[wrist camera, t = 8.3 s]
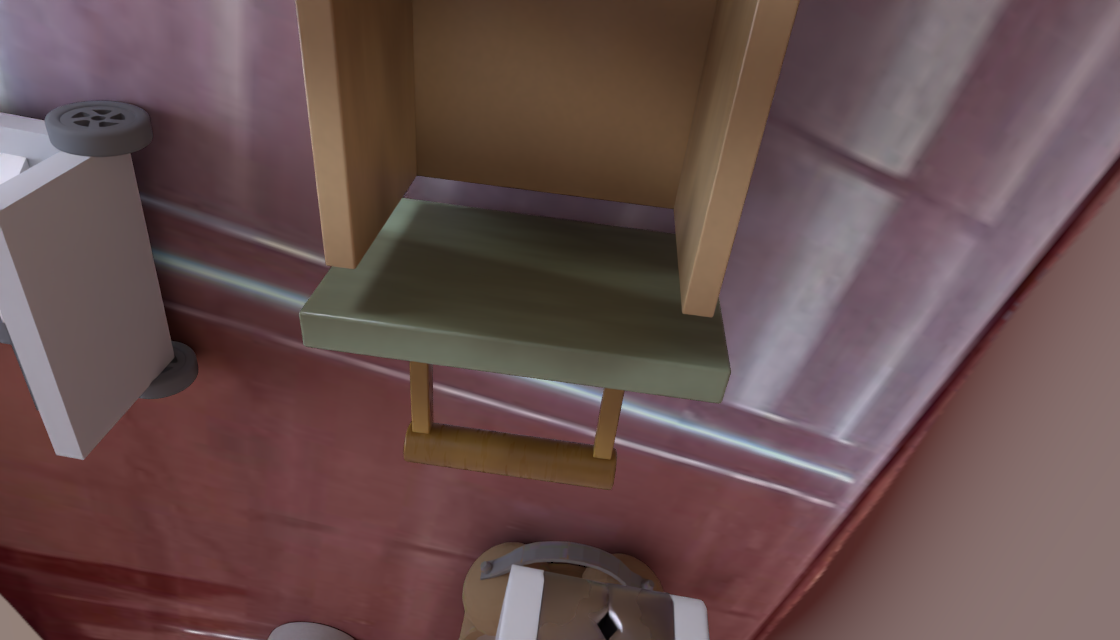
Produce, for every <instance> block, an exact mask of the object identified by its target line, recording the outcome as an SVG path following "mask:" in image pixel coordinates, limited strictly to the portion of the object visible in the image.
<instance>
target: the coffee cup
mask: <svg viewBox="0 0 1120 640" xmlns="http://www.w3.org/2000/svg"><path fill="white" fill-rule="evenodd" d="M268 640H355V639H354V638H352V637H351V636H349V635H347V634H346V633H344V632H342V631H339V630H337V629H335V628H332V627H329V626H325V625H321V624H316V623H309V622H294V623H288V624H284V625H281V626H279V627H277V628H276V629H274V630H273V631H272V633H271V634H270V636H269V638H268Z"/></svg>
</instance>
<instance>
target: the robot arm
mask: <svg viewBox="0 0 1120 640" xmlns="http://www.w3.org/2000/svg"><path fill="white" fill-rule="evenodd" d="M495 640H710V639H709V628H708V616H707V608H706V606H705V604H704V602H703V601H702V600H700V599H694V598H688V597H682V596H677V595H671V594H669V593H665V592H659V591H653V590H647V589H642V588H636V587H630V586H624V585H618V584H612V583H603V582H598V581H593V580H588V579H583V578H578V577H573V576H568V575H563V574H557V573H552V572H547V571H544V570H540V569H534V568H529V567H523V566H518V565H512V566H511V570H510V574H509V579H508V583H507V587H506V592H505V596H504V600H503V605H502V610H501V614H500V619H499V624H498V628H497V633H496V638H495Z"/></svg>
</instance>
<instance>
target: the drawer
mask: <svg viewBox="0 0 1120 640" xmlns="http://www.w3.org/2000/svg"><path fill="white" fill-rule="evenodd" d="M799 2H800V0H295V5H296V13H297V22H298V30H299V39H300V48H301V56H302V65H303V73H304V82H305V90H306V99H307V108H308V116H309V125H310V133H311V142H312V151H313V159H314V168H315V176H316V185H317V193H318V202H319V211H320V219H321V228H322V236H323V245H324V253H325V262H326V265H327V266H332V267H331V268H330V270H329V271H328V273H327V274H326V275H325V277H324V278H323V280H322V281H321V282H320V284H319V285H318V287H317V288H316V289H315V291H314V292H313V294H312V295H311V296H310V298H309V299H308V301H307V302H306V303H305V305H304V306H303V308H302V309H301V310H300V312H299V318H300V324H301V331H302V338H303V344H304V346H306V347H311V348H318V349H326V350H333V351H340V352H347V353H355V354H362V355H369V356H377V357H384V358H391V359H398V360H406V361H409V364H410V390H411V416H412V421H411V423H410V424H409V426H408V429H407V432H406V436H405V441H404V459H405V461H407V462H413V463H420V464H427V465H434V466H442V467H449V468H456V469H463V470H470V471H477V472H484V473H491V474H498V475H505V476H513V477H520V478H527V479H534V480H541V481H548V482H555V483H562V484H569V485H577V486H584V487H591V488H598V489H605V490H611V489H612V487H613V484H614V478H615V471H616V462H617V450H616V449H615V448H613V446H614V441H615V436H616V431H617V426H618V421H619V416H620V411H621V406H622V401H623V396H624V391H632V392H639V393H646V394H653V395H661V396H668V397H675V398H683V399H690V400H697V401H704V402H712V403H721V402H722V400H723V397H724V394H725V390H726V387H727V384H728V381H729V377H730V374H731V368H730V362H729V356H728V350H727V344H726V337H725V331H724V325H723V319H722V313H721V307H720V301H719V294H720V290H721V286H722V283H723V279H724V275H725V272H726V268H727V265H728V261H729V257H730V254H731V250H732V246H733V243H734V239H735V235H736V232H737V228H738V224H739V221H740V217H741V214H742V210H743V206H744V203H745V199H746V195H747V192H748V188H749V184H750V181H751V177H752V173H753V170H754V166H755V163H756V159H757V155H758V152H759V148H760V144H761V141H762V137H763V133H764V130H765V126H766V122H767V119H768V115H769V112H770V108H771V104H772V101H773V97H774V93H775V90H776V86H777V82H778V79H779V75H780V71H781V68H782V64H783V60H784V57H785V53H786V50H787V46H788V42H789V39H790V35H791V31H792V28H793V24H794V20H795V17H796V13H797V9H798V6H799ZM416 176H425V177H432V178H440V179H448V180H455V181H463V182H471V183H478V184H486V185H494V186H501V187H509V188H517V189H524V190H532V191H539V192H547V193H555V194H562V195H570V196H578V197H585V198H593V199H601V200H608V201H616V202H624V203H631V204H639V205H647V206H654V207H662V208H670V209H674V220H675V232H676V234H673V233H666V232H658V231H650V230H643V229H635V228H628V227H620V226H612V225H605V224H597V223H590V222H582V221H574V220H567V219H559V218H552V217H544V216H536V215H529V214H521V213H514V212H506V211H498V210H491V209H483V208H476V207H468V206H460V205H453V204H445V203H438V202H430V201H422V200H415V199H407V198H402V197H403V196H404V194H405V193H406V191H407V190H408V188H409V187H410V185H411V184H412V182H413V181H414V179H415V177H416ZM433 364H435V365H442V366H449V367H457V368H464V369H471V370H479V371H486V372H493V373H500V374H508V375H515V376H522V377H530V378H537V379H544V380H551V381H559V382H566V383H573V384H581V385H588V386H595V387H602V388H604V389H603V395H602V401H601V406H600V412H599V418H598V424H597V429H596V435H595V441H594V445H590V444H583V443H576V442H569V441H561V440H554V439H547V438H540V437H533V436H526V435H518V434H511V433H504V432H497V431H490V430H482V429H475V428H468V427H461V426H454V425H447V424H439V423H433Z"/></svg>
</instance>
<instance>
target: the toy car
mask: <svg viewBox="0 0 1120 640" xmlns="http://www.w3.org/2000/svg"><path fill="white" fill-rule="evenodd" d="M152 139H153V132H152V126H151V121H150V117H149V115H148V113H147V112H146V111H144V110H143V109H141V108H140V107H137V106H135V105H132V104H128V103H123V102H116V101H84V102H76V103H71V104H67V105H63V106H60V107H58V108H55V109H54V110H52V111H50V112H49V113H48V114H47V115H46V117H45V121H44V120H39V119H34V118H28V117H23V116H18V115H12V114H7V113H2V112H0V343H5V344H11V345H12V348H13V350H14V353H15V355H16V358H17V360H18V363H19V366H20V368H21V371H22V373H23V376H24V378H25V381H26V384H27V386H28V389H29V391H30V394H31V396H32V399H33V401H34V404H35V407H36V409H37V410H39V412H40V414H41V417H42V420H43V422H44V425H45V427H46V430H47V432H48V435H49V438H50V440H51V443H52V445H53V448H54V450H55V453H56V455H60V456H66V457H71V458H77V459H82V460H84V459H85V458H86V457H87V455H88V454H89V453H90V452H91V451H92V450H93V449H94V448H95V446H96V445H97V444H98V443H99V442H100V441H101V440H102V439H103V437H104V436H105V435H106V434H107V433H108V432H109V431H110V429H111V428H112V427H113V426H114V425H115V424H116V423H117V422H118V420H119V419H120V418H121V417H122V416H123V415H124V414H125V413H126V411H127V410H128V409H129V408H130V407H131V406H132V405H133V404H134V402H135V401H136V400H137V399H138V398H143V399H157V398H164V397H168V396H171V395H174V394H177V393H179V392H181V391H183V390H184V389H186V388H187V387H188V386H190V385H191V384H192V383H193V382H194V380H195V379H196V377H197V375H198V363H197V358H196V355H195V353H194V351H193V350H192V349H191V348H190V347H189V346H187V345H185V344H183V343H180V342H176V341H171V337H170V333H169V328H168V324H167V319H166V314H165V310H164V305H163V301H162V296H161V291H160V287H159V282H158V278H157V273H156V268H155V264H154V259H153V255H152V250H151V246H150V241H149V236H148V232H147V227H146V223H145V218H144V213H143V209H142V204H141V200H140V195H139V190H138V186H137V181H136V177H135V172H134V167H133V163H132V158H131V154H130V153H133V152H136V151H138V150H141V149H143V148H144V147H146V146H147V145H149V144H150V143H151V141H152Z"/></svg>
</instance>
